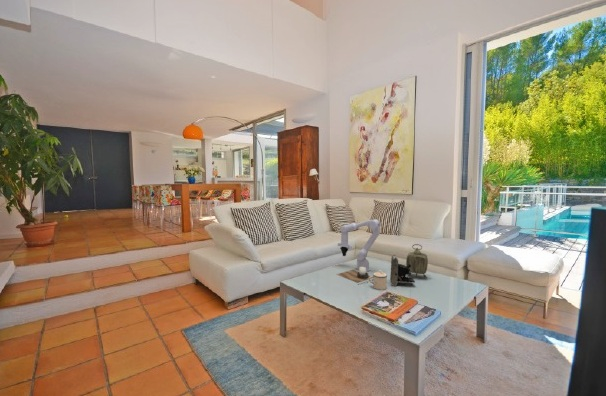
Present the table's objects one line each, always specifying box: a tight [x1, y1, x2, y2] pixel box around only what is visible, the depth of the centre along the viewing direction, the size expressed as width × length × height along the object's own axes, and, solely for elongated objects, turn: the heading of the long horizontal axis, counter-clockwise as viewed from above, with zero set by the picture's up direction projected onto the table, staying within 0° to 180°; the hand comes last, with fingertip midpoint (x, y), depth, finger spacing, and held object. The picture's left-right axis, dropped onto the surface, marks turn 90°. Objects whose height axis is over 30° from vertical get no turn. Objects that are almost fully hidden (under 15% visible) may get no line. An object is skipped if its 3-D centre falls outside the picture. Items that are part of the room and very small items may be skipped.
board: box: [336, 269, 373, 286], centre depth 207 cm, size 18×22×2 cm
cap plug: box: [358, 267, 367, 275], centre depth 205 cm, size 5×5×7 cm
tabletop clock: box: [405, 243, 429, 279], centre depth 207 cm, size 14×9×25 cm, turn 62°
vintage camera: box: [389, 254, 416, 287], centre depth 193 cm, size 10×15×20 cm, turn 78°
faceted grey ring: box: [357, 271, 369, 279], centre depth 205 cm, size 8×8×2 cm
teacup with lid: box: [368, 269, 388, 291], centre depth 189 cm, size 12×9×12 cm
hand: (344, 255), depth 230 cm, fingers closed
